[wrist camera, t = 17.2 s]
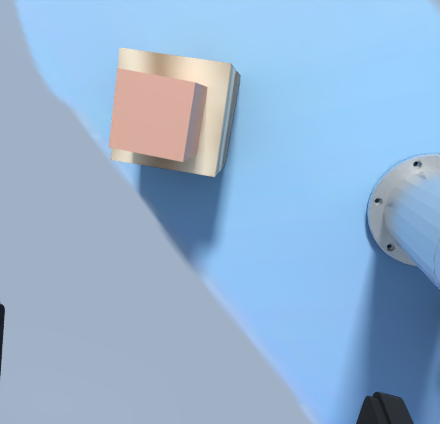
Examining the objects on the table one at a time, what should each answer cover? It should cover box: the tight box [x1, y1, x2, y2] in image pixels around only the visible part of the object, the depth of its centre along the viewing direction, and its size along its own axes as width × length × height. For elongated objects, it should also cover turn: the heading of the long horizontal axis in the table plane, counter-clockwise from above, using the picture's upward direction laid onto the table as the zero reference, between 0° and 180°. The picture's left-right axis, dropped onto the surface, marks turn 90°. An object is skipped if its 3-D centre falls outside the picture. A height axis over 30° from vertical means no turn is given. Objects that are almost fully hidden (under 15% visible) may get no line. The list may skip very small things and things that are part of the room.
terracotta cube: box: [109, 68, 208, 162], centre depth 34 cm, size 6×6×6 cm
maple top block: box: [111, 48, 236, 177], centre depth 40 cm, size 10×10×5 cm
